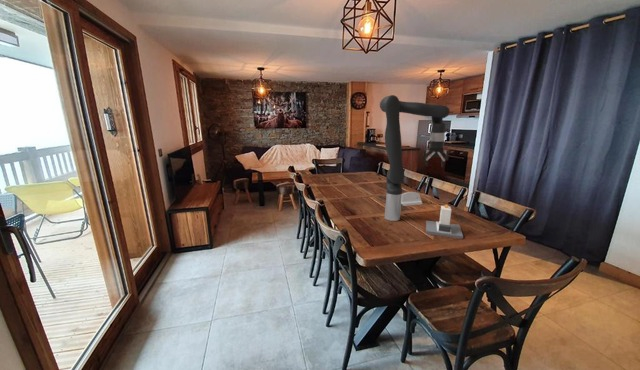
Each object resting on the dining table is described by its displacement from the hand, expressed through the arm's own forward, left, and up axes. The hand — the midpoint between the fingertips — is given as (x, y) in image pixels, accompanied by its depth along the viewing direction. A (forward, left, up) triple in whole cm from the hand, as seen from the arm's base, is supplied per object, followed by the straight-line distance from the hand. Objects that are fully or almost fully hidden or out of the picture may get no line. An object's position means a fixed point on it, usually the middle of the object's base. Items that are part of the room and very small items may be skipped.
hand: (434, 166), depth 155 cm
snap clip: (+7, -26, -31) cm, 41 cm away
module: (+7, -22, -31) cm, 38 cm away
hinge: (-13, +23, -34) cm, 43 cm away
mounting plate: (+7, -20, -33) cm, 39 cm away
